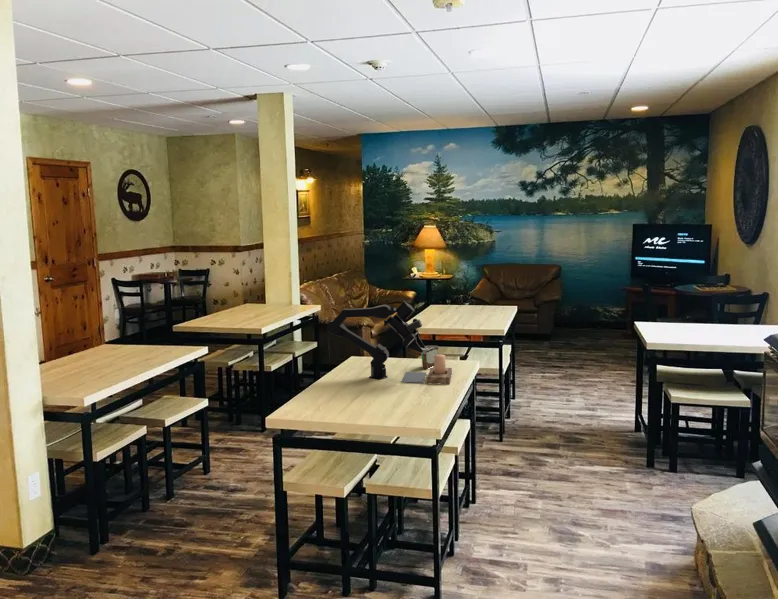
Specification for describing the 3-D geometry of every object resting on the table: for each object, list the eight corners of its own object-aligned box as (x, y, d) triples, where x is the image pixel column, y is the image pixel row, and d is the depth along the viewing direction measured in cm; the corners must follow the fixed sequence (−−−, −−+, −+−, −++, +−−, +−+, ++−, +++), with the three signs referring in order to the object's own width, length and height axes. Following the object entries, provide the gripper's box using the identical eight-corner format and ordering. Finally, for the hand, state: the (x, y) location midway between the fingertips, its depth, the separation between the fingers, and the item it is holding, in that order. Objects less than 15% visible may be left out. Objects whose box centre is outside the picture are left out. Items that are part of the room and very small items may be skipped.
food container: (428, 363, 336) (428, 344, 335) (438, 365, 333) (438, 345, 331) (415, 368, 326) (414, 348, 325) (425, 370, 323) (425, 350, 321)
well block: (427, 383, 298) (427, 377, 298) (430, 373, 316) (430, 367, 315) (449, 384, 297) (449, 377, 296) (451, 374, 314) (451, 367, 314)
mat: (401, 383, 300) (401, 381, 300) (405, 373, 318) (405, 371, 318) (423, 383, 298) (423, 382, 298) (426, 373, 316) (426, 372, 316)
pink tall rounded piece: (432, 379, 306) (431, 355, 304) (438, 376, 310) (438, 353, 308) (441, 380, 303) (441, 357, 301) (447, 378, 307) (447, 355, 305)
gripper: (409, 317, 295) (433, 341, 295) (413, 310, 313) (437, 334, 313) (391, 334, 297) (416, 358, 297) (397, 327, 315) (420, 350, 315)
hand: (423, 349), depth 305 cm, fingers open, 9 cm apart
